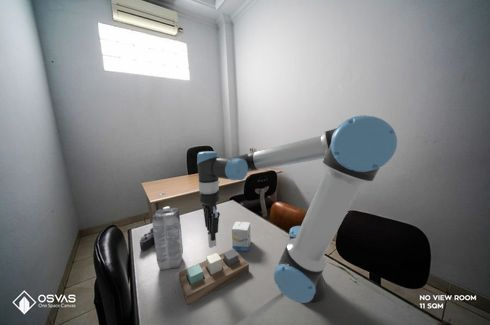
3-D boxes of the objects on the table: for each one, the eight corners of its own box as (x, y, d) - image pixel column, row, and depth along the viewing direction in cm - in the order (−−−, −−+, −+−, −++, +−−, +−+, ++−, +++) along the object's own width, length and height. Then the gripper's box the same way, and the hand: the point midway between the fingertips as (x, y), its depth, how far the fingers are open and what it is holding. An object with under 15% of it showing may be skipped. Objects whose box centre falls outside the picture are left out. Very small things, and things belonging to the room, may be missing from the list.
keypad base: (248, 271, 74) (248, 264, 74) (187, 304, 61) (186, 296, 60) (234, 254, 85) (233, 248, 85) (179, 279, 71) (178, 272, 71)
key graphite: (238, 265, 76) (238, 255, 75) (229, 270, 74) (228, 259, 73) (233, 259, 80) (233, 249, 79) (224, 263, 78) (223, 253, 77)
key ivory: (222, 269, 72) (221, 258, 71) (211, 274, 69) (210, 263, 68) (217, 262, 76) (216, 252, 75) (206, 267, 73) (206, 256, 72)
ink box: (248, 251, 87) (247, 230, 86) (232, 250, 89) (231, 229, 87) (251, 241, 96) (250, 221, 94) (236, 240, 97) (235, 220, 96)
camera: (150, 255, 87) (147, 237, 85) (138, 252, 90) (136, 234, 89) (173, 238, 101) (171, 222, 100) (162, 236, 104) (161, 220, 103)
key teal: (203, 282, 68) (202, 271, 67) (191, 288, 65) (190, 277, 64) (199, 274, 72) (198, 263, 71) (188, 280, 69) (187, 269, 68)
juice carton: (181, 268, 78) (176, 211, 74) (156, 272, 76) (149, 214, 72) (184, 255, 86) (179, 203, 82) (162, 258, 84) (155, 206, 80)
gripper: (225, 193, 64) (227, 251, 68) (212, 185, 75) (214, 235, 79) (205, 197, 60) (209, 258, 64) (194, 188, 71) (198, 241, 75)
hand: (212, 245), depth 71 cm, fingers closed
